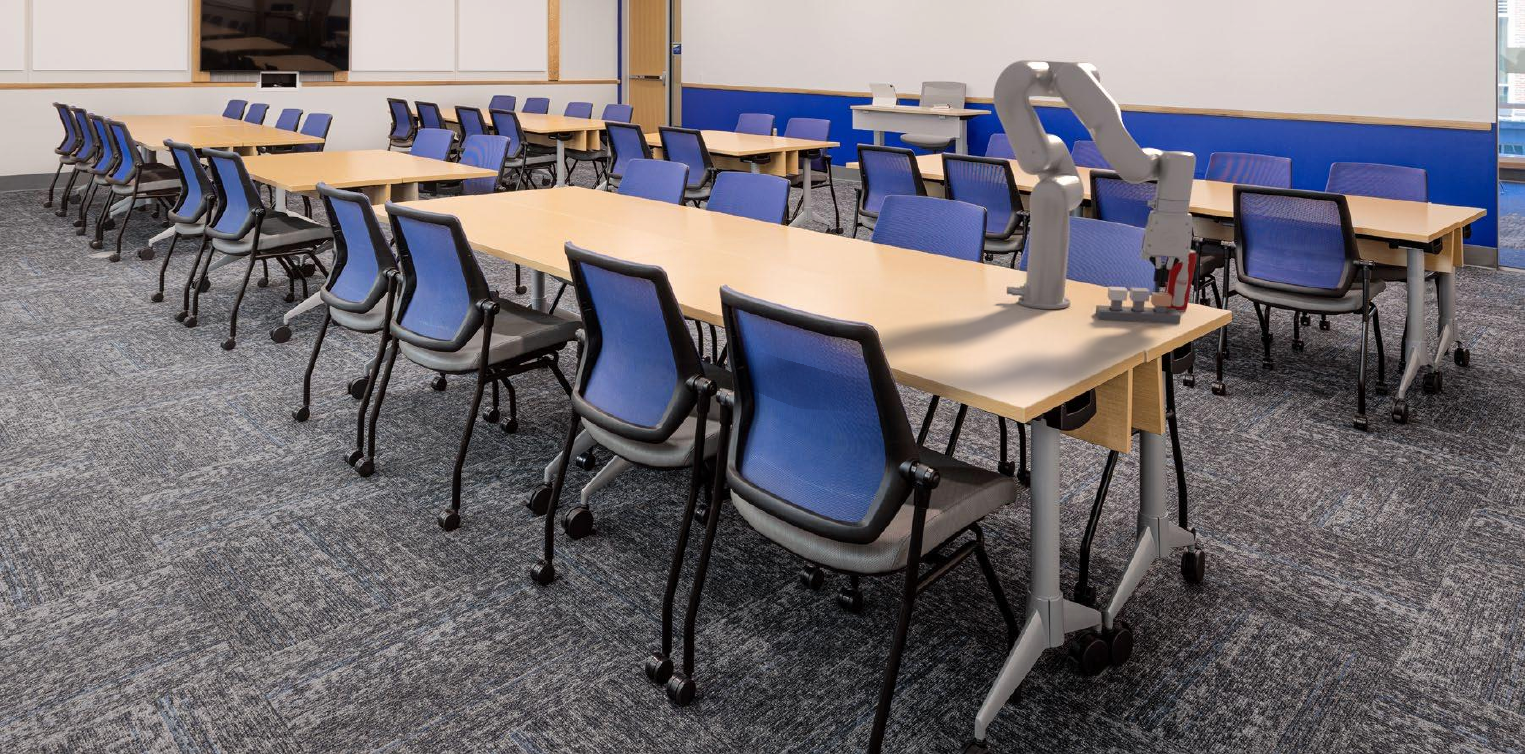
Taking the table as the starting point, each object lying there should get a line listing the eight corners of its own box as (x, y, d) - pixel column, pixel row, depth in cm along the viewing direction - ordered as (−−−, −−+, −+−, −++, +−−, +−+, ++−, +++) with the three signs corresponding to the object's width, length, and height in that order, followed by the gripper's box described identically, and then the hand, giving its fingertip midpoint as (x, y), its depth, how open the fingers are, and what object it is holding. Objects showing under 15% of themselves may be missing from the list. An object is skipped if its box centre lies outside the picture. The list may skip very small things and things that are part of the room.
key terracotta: (1152, 316, 244) (1154, 295, 243) (1149, 312, 248) (1151, 292, 246) (1169, 316, 243) (1171, 296, 242) (1166, 313, 247) (1168, 292, 246)
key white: (1108, 310, 245) (1110, 290, 244) (1106, 306, 249) (1108, 286, 247) (1125, 311, 245) (1127, 290, 243) (1122, 307, 248) (1125, 287, 247)
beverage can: (1166, 305, 260) (1173, 246, 255) (1193, 309, 256) (1200, 249, 251) (1158, 309, 255) (1165, 249, 251) (1185, 313, 251) (1192, 252, 247)
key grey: (1130, 311, 245) (1133, 290, 243) (1128, 307, 248) (1130, 287, 247) (1147, 311, 244) (1150, 291, 242) (1144, 308, 248) (1147, 288, 246)
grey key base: (1099, 320, 245) (1100, 311, 244) (1095, 313, 251) (1096, 305, 251) (1179, 323, 242) (1180, 315, 241) (1173, 316, 248) (1174, 308, 248)
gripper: (1140, 207, 236) (1129, 286, 241) (1209, 210, 234) (1196, 290, 239) (1134, 202, 243) (1124, 279, 248) (1201, 206, 241) (1189, 283, 246)
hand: (1160, 284), depth 244 cm, fingers closed
